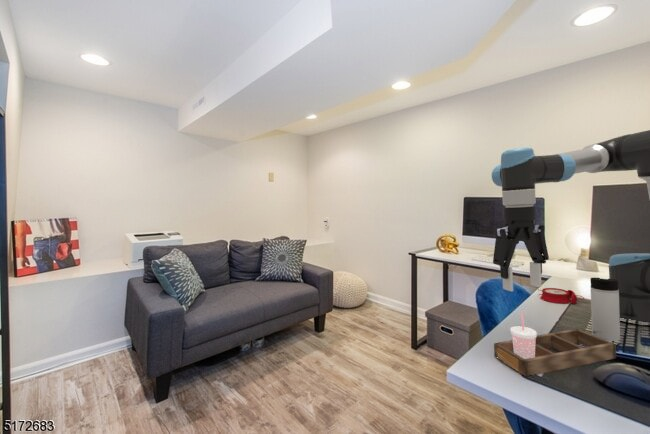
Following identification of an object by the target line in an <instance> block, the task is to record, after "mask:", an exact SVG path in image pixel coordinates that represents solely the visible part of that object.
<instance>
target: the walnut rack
mask: <svg viewBox="0 0 650 434" xmlns="http://www.w3.org/2000/svg"><path fill="white" fill-rule="evenodd" d="M581 344H583V345H585V346H588V347H585V346H583V345H582V346H581ZM550 349H553V350H555V351H557V352H553V351H551V350H550ZM493 351H494V352H493V353H494V357H495V356H496V357H498V358H497V359H498V360H499V359H500V360H499V361H501V360H502V361H503V362H502V361H501V362H502V363H504V362H505V363H506V364H505V363H504V364H505V365H507V364H508V365H509V366H508V365H507V366H508V367H510V366H511V367H512V368H511V367H510V368H511V369H513V368H514V369H515V370H514V369H513V370H514V371H516V372H517V371H518V372H517V373H519V374H520V373H521V374H520V375H522V374H523V375H524V376H523V375H522V376H523V377H525V376H527V377H530V376H529V375H532V376H536V375H535V374H537V375H541V374H546V373H550V372H556V371H560V370H566V369H570V368H576V367H580V366H584V365H590V364H594V363H595V364H596V363H599V362H604V361H609V360H615V359H617V346H616V344H614V343H612V342H609V341H607V340H604V339H602V338H599V337H597V336H594V335H592V333H588V332H586V331H584V330H581V329H579V328H573V329H566V330H562V331H556V332H550V333H545V334H537V336H536V342H535V357H533V358H528V359H524V358H522V357H520V356H518V355H517V354H515V353H514V349H513V340H512V339H510V340H506V341H505V340H504V341H499V342H494V343H493ZM496 357H495V358H496Z"/></svg>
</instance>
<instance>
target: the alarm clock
mask: <svg viewBox="0 0 650 434" xmlns="http://www.w3.org/2000/svg"><path fill="white" fill-rule="evenodd" d="M537 291H540V292H542V293H539V294H538V296H540V299H541V300H543V301H545V302H547V303H553V304H560V305H561V304H563V305H565V304H570V303H571V305H576V304H577V302H578V301H579V300H581V301H582V300H584V299H585V297H584V296H582V295H577V294H575V292H574V291H573V290H572V289H567V290H566V289H562V288H557V287H556V288H555V287H545V288H542V289H539V288H537ZM578 297H580V298H578Z"/></svg>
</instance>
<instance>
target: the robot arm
mask: <svg viewBox="0 0 650 434" xmlns="http://www.w3.org/2000/svg"><path fill="white" fill-rule="evenodd" d="M624 171H625V172H627V171H636V172H637V173H636V174H637V177H638V178H639V179H641V180H643V181H644V182H646V186H647V192H648V197H649V200H650V129H649V130H645V131H644V130H643V131H640V132H639V131H638V132H634V133H629V134H625V135H620V136H617V137H614V138H610V139H608V140H604V141H601V142H598V143H594V144H588V145H585V146H584V147H583V148H582V149H578V150H571V151H566V152H561V153H555V154H550V155H549V154H547V155H536V154H535V153H534V148H532V147H518V148H513V149H508V150H505V151H503V152H502V153H501V155H500V164H498V165H496V166H495V167H494V168H493V169H492V172H491V180H492V182H493V184H495V185H496V186H498V187H501V191H502V192H501V194H502V205H503V206H504V207H503V208H502V218H503V221H504V222H505V224H504V227H502V228H498V227H497V228H495V229H494V233H495V242H494V248H493V249H494V250H493V259H492V264H493V265H497V266H499V267H500V268H499V270H500V271H499V272H500V278H502V289H503V290H506V291H507V292H514V280H513V279H514V275H513V273H514V272H513V266H511V262H512V260H513V258H514V257H513V256H514V253H515V250H516V248H517V245H518V244H519V243H520V242H521V241H522V242H523V243H524V245H525V247H526V250H527V252H528V254H529V257H530V258H531V260H532V261H529V277H530V278H529V279H530V281H529V282H530V283H529V285H530V286H533V287H537V288H542V274H543V264H544V265H545V264H547V263H546V262H547V261H548V260H549V259H550V257H549V252H548V247H547V241H546V237H545V225H543V224H535V222H534V221H535V220H537V207H535V206H534V205H535V204H536V203H537V202H536V201H537V200H536V185H537V184H545V183H547V184H548V183H560V182H566V181H568V180H570V179H571V178H572V177H574V175H575V174H580V173H584V172H585V173H589V174H597V173H601V172H604V173H605V172H624ZM608 263H609V264H608V275H609V276H608V279H615V280H618V288H619V291H618V292H619V314H620V318H624V319H631V320H637V321H643V322H650V253H649V252H648V253H645V252H642V253H640V252H639V253H638V252H637V253H635V252H634V253H629V252H628V253H617V254H613V255H611V256H610V257H609V259H608Z"/></svg>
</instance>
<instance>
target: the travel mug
mask: <svg viewBox="0 0 650 434" xmlns="http://www.w3.org/2000/svg"><path fill="white" fill-rule="evenodd" d="M618 291H619V288H618V280H615V279H609V278H601V277H590V313H591V318H590V319H591V335H594V336H597V337H599V338H602V339H604V340H607V341H618V340H619V339H620V340H621V322H620V314H619V292H618Z"/></svg>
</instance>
